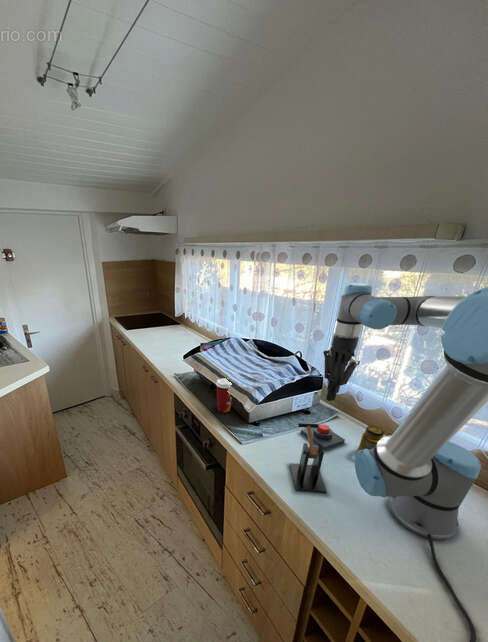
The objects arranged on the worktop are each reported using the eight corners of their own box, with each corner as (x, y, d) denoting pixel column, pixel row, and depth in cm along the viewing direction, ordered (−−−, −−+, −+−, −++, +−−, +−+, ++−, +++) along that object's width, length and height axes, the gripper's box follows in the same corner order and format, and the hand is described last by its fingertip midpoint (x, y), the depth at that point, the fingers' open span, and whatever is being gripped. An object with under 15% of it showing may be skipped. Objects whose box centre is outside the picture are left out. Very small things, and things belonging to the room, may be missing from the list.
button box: (343, 444, 114) (346, 435, 112) (323, 451, 110) (325, 442, 108) (319, 428, 123) (321, 419, 122) (300, 434, 120) (301, 425, 118)
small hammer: (297, 425, 101) (299, 420, 99) (316, 426, 100) (318, 422, 98) (302, 457, 93) (303, 453, 91) (322, 459, 92) (324, 455, 91)
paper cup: (233, 413, 134) (234, 385, 127) (215, 413, 134) (216, 385, 128) (231, 405, 141) (232, 377, 134) (214, 405, 141) (215, 377, 134)
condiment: (380, 459, 106) (391, 430, 100) (367, 468, 102) (377, 439, 96) (360, 448, 111) (369, 421, 106) (347, 457, 107) (355, 429, 102)
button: (330, 432, 114) (331, 428, 113) (323, 435, 113) (324, 430, 112) (323, 427, 117) (324, 423, 116) (316, 430, 116) (317, 425, 115)
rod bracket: (289, 466, 104) (294, 435, 98) (316, 468, 103) (324, 437, 97) (295, 492, 93) (302, 459, 87) (325, 494, 92) (335, 461, 86)
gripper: (372, 339, 93) (353, 405, 105) (338, 328, 104) (324, 389, 115) (355, 342, 91) (337, 410, 102) (321, 331, 101) (309, 394, 113)
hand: (330, 399), depth 109 cm, fingers closed
